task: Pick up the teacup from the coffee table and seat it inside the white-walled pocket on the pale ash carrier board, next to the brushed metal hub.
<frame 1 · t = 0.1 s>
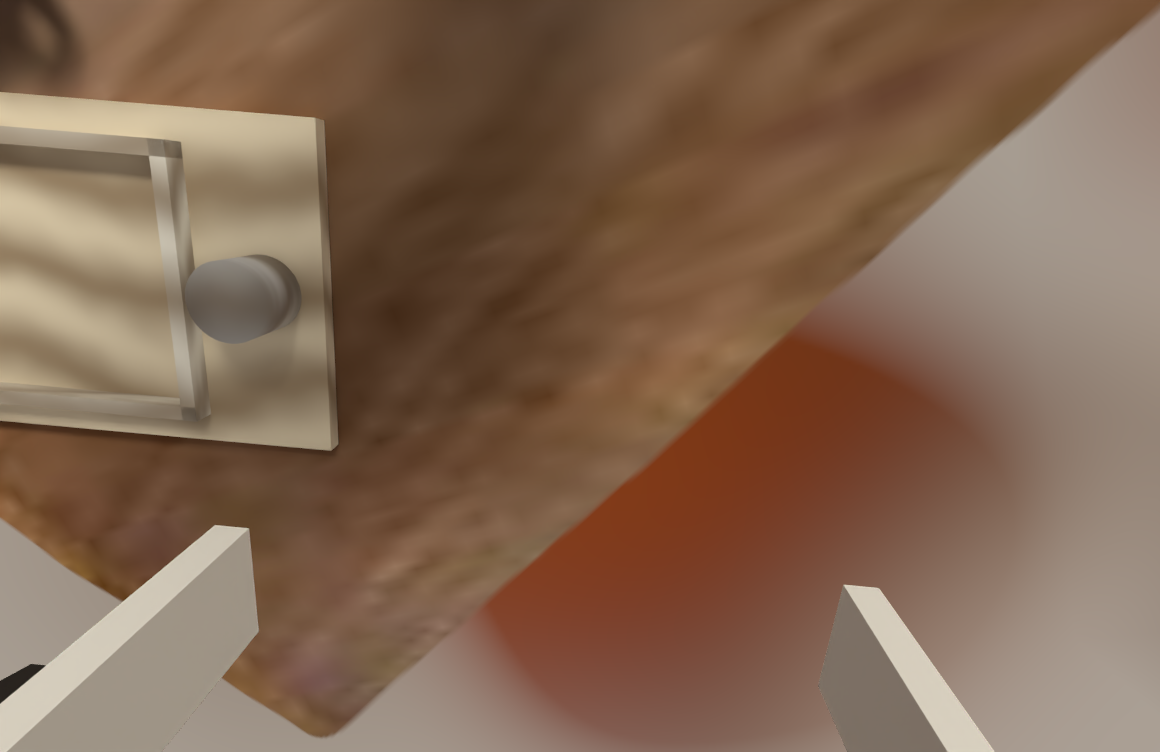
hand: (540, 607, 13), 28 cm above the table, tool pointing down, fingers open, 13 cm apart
carrier board: (129, 277, 40), on the table
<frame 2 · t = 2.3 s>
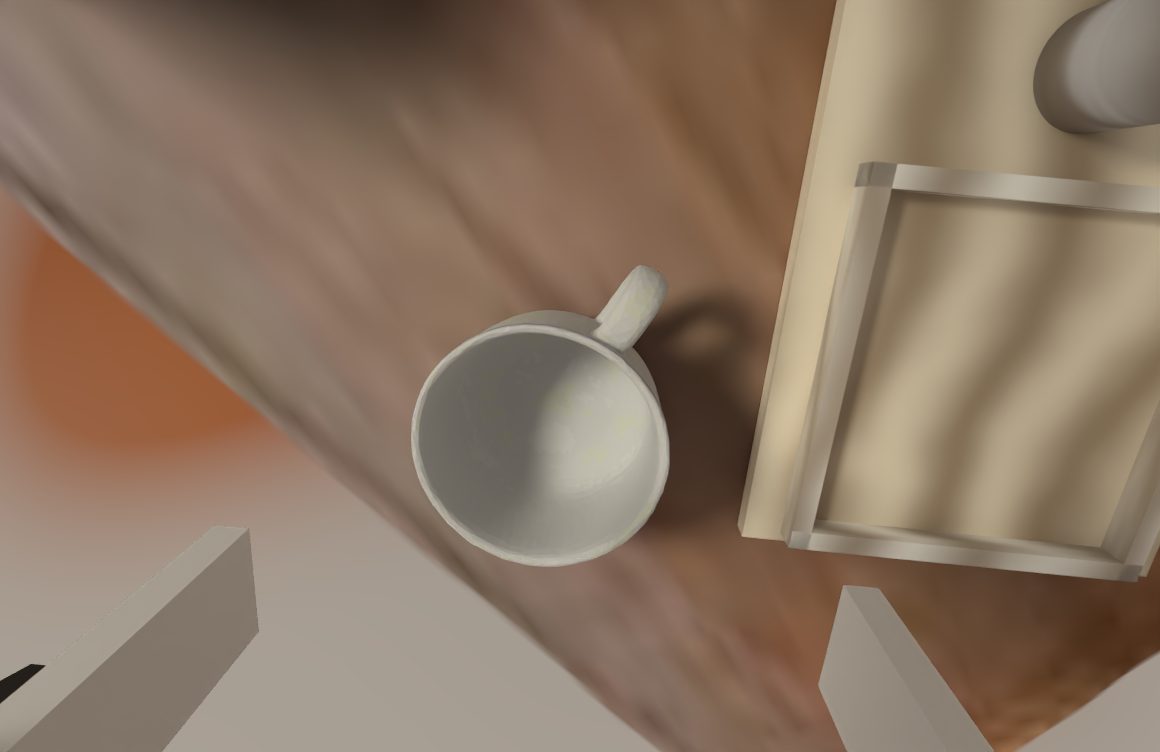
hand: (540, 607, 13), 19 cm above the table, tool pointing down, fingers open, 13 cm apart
carrier board: (1005, 298, 29), on the table
teacup: (574, 372, 31), on the table
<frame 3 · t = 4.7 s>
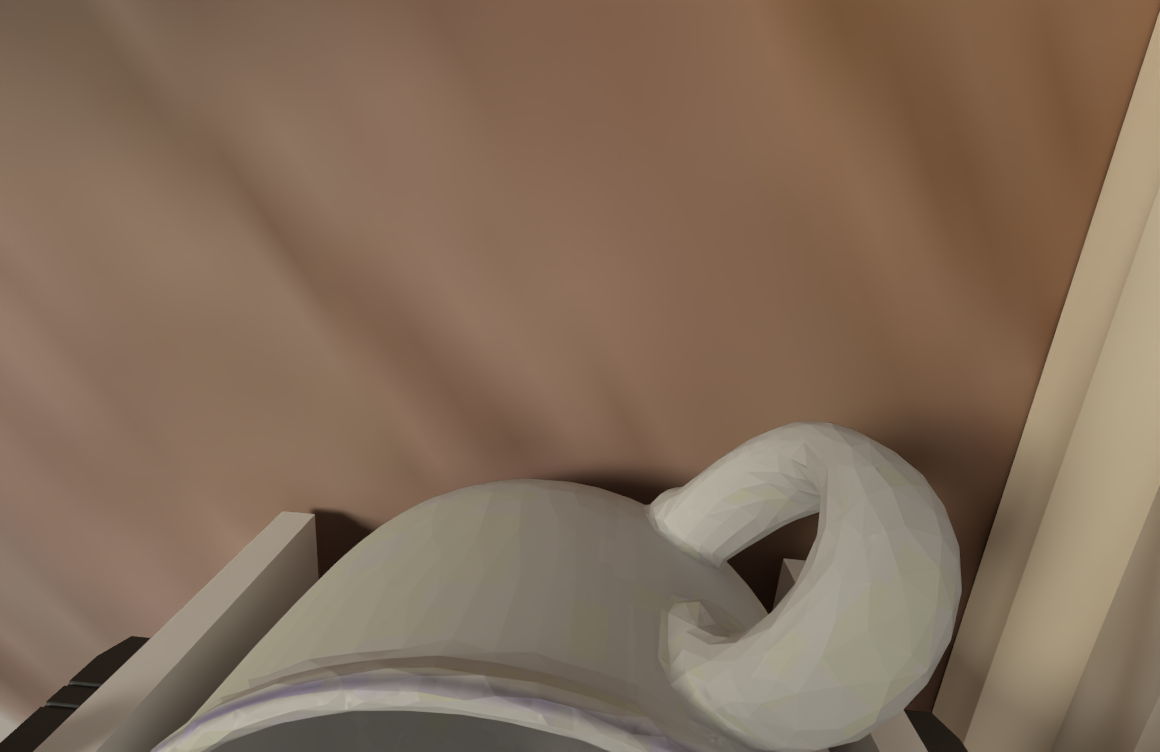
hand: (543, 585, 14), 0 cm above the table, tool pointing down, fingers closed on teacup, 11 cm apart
teacup: (588, 576, 14), on the table, touching gripper
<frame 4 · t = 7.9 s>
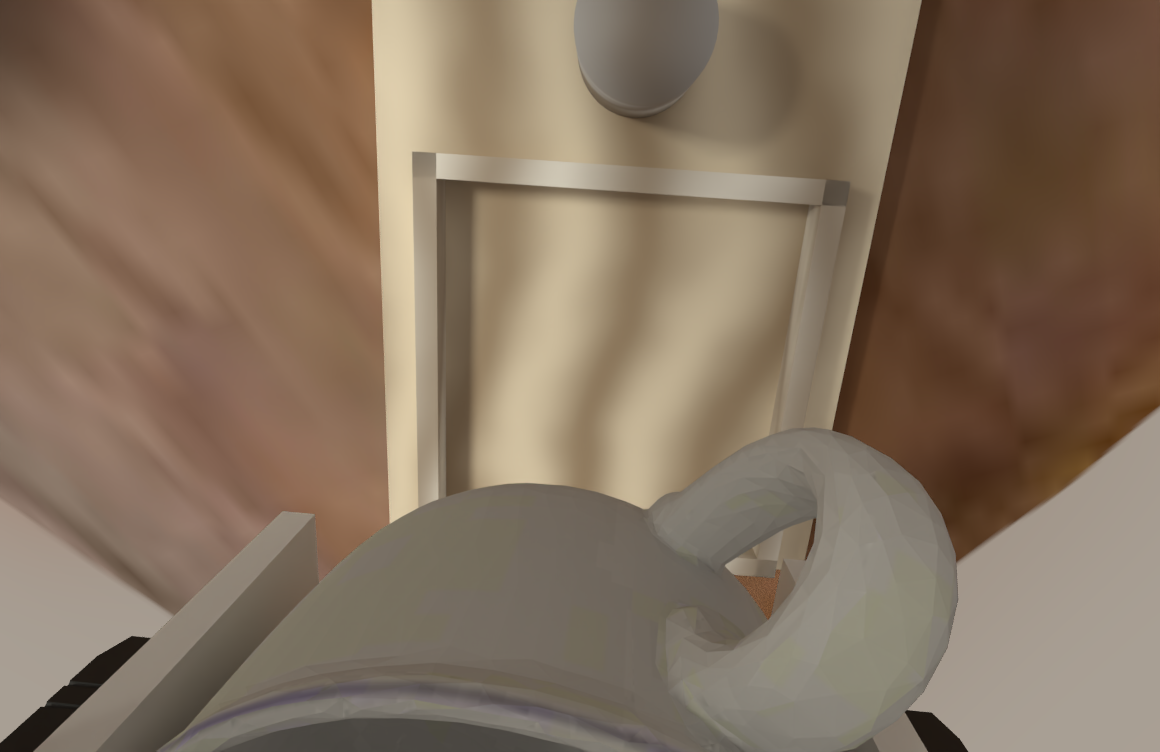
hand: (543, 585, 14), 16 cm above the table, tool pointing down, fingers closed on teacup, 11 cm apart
carrier board: (617, 290, 28), on the table
teacup: (587, 580, 14), point 16 cm above the table, touching gripper
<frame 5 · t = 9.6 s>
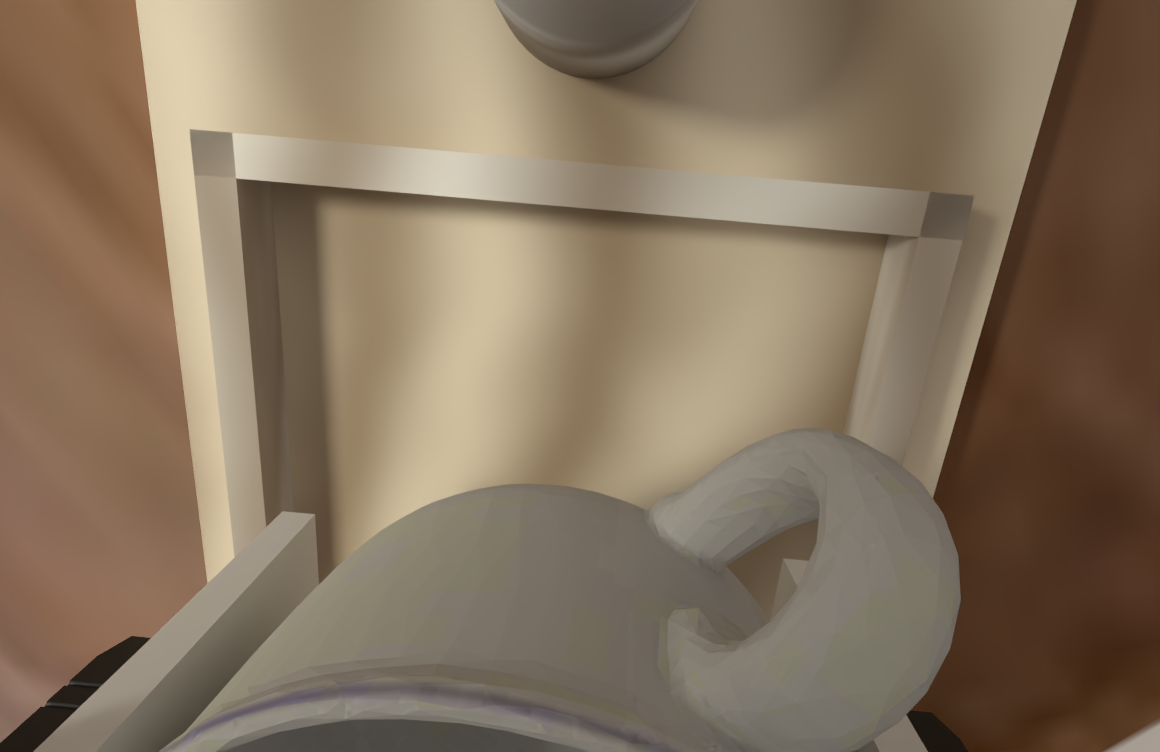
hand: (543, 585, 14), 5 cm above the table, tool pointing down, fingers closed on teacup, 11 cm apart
carrier board: (567, 361, 18), on the table
teacup: (588, 580, 14), point 5 cm above the table, touching gripper
when the fingers open (3 cm above the table, at t = 10.9 s): teacup drops 2 cm, resting on carrier board.
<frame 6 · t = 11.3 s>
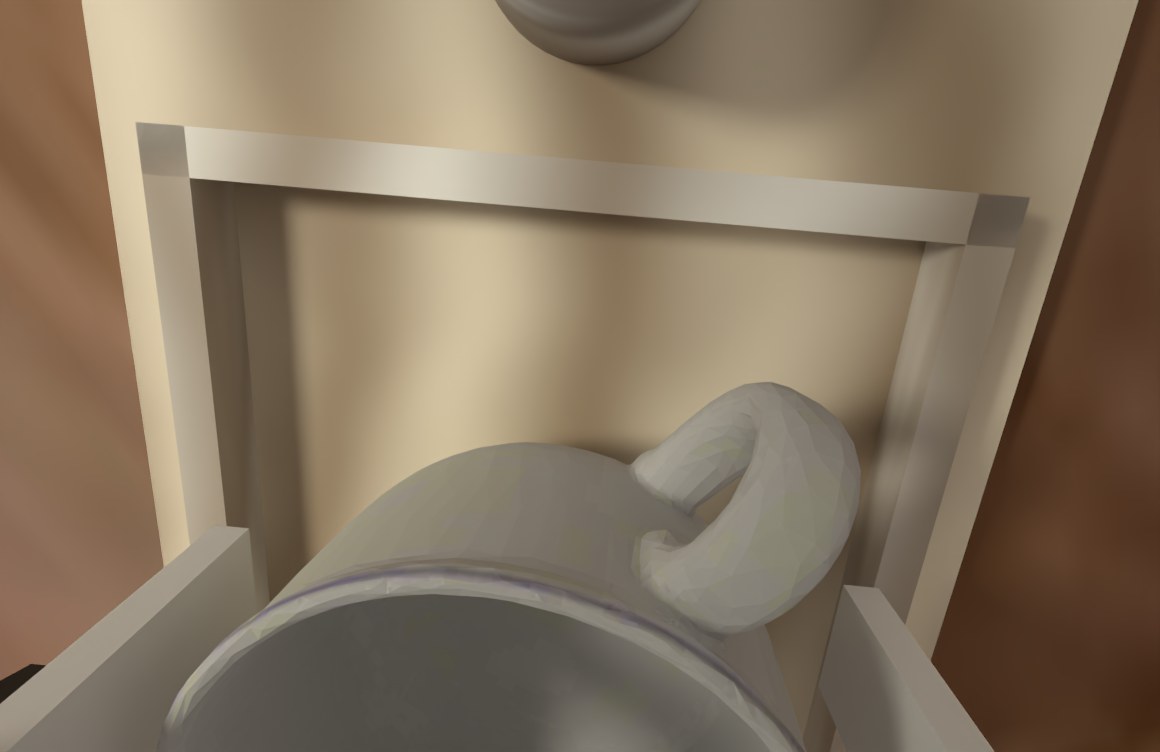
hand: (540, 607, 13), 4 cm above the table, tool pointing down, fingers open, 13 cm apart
carrier board: (565, 380, 16), on the table
teacup: (579, 536, 16), point 1 cm above the table, touching carrier board
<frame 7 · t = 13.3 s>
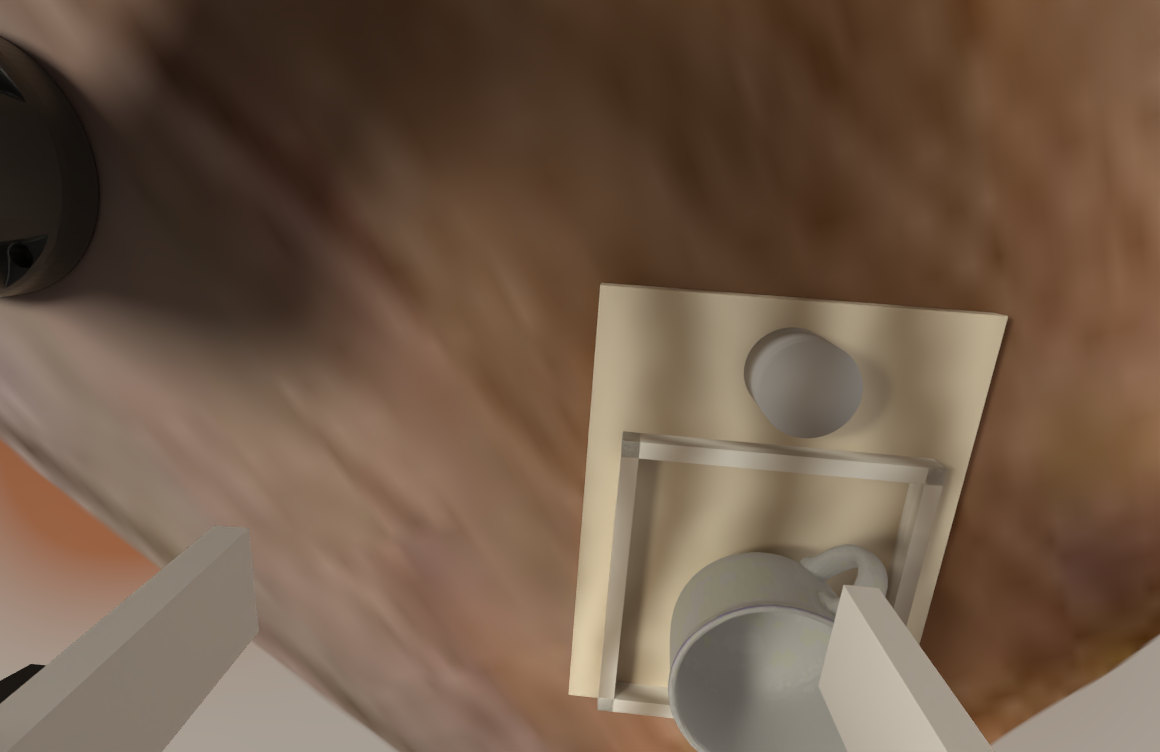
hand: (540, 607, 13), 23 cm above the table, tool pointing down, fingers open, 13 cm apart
carrier board: (757, 518, 37), on the table
teacup: (763, 585, 37), point 1 cm above the table, touching carrier board
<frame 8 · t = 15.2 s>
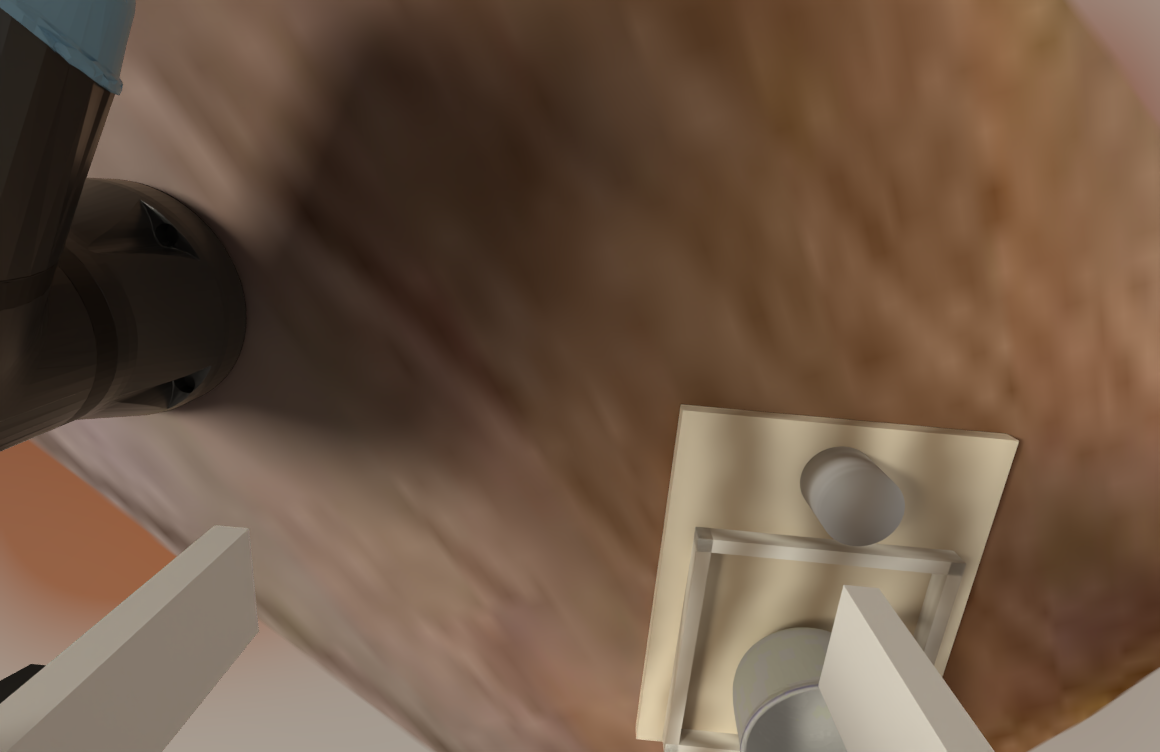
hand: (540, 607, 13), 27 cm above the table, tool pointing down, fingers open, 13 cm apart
carrier board: (803, 594, 43), on the table
teacup: (807, 650, 44), point 1 cm above the table, touching carrier board
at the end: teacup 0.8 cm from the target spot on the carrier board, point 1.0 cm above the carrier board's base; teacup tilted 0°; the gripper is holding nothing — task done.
